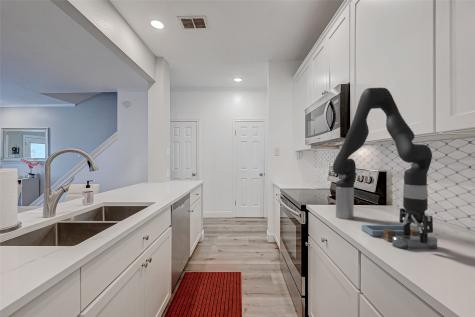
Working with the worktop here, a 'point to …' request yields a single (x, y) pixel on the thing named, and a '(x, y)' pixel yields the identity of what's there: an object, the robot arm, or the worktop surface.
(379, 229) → the slate-blue tray
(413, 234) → the wooden plank with blocks
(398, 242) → the steel dumbbell
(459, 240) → the worktop surface
